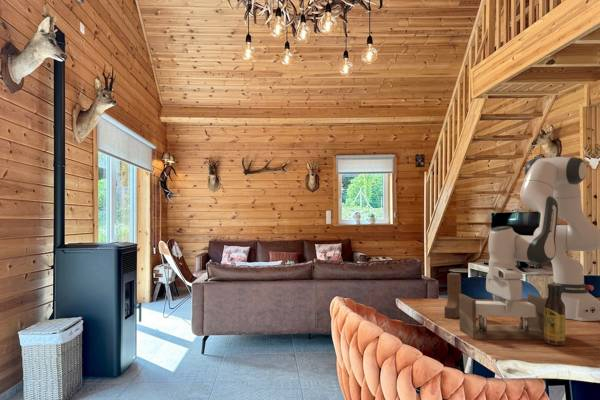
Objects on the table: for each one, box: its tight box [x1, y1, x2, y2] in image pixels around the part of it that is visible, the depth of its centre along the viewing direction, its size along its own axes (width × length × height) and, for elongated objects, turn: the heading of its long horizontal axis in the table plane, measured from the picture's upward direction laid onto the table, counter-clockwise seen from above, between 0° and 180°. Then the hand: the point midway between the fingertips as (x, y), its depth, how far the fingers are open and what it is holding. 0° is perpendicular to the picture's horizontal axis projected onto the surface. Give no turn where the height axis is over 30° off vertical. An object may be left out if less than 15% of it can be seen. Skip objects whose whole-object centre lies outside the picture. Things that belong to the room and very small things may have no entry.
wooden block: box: [444, 272, 462, 319], centre depth 180 cm, size 9×4×18 cm, turn 142°
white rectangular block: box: [476, 300, 536, 318], centre depth 152 cm, size 20×6×4 cm, turn 80°
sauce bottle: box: [543, 282, 566, 346], centre depth 141 cm, size 6×6×20 cm
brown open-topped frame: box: [459, 293, 547, 340], centre depth 152 cm, size 27×12×14 cm, turn 90°
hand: (502, 309), depth 152 cm, fingers closed on white rectangular block, 6 cm apart
